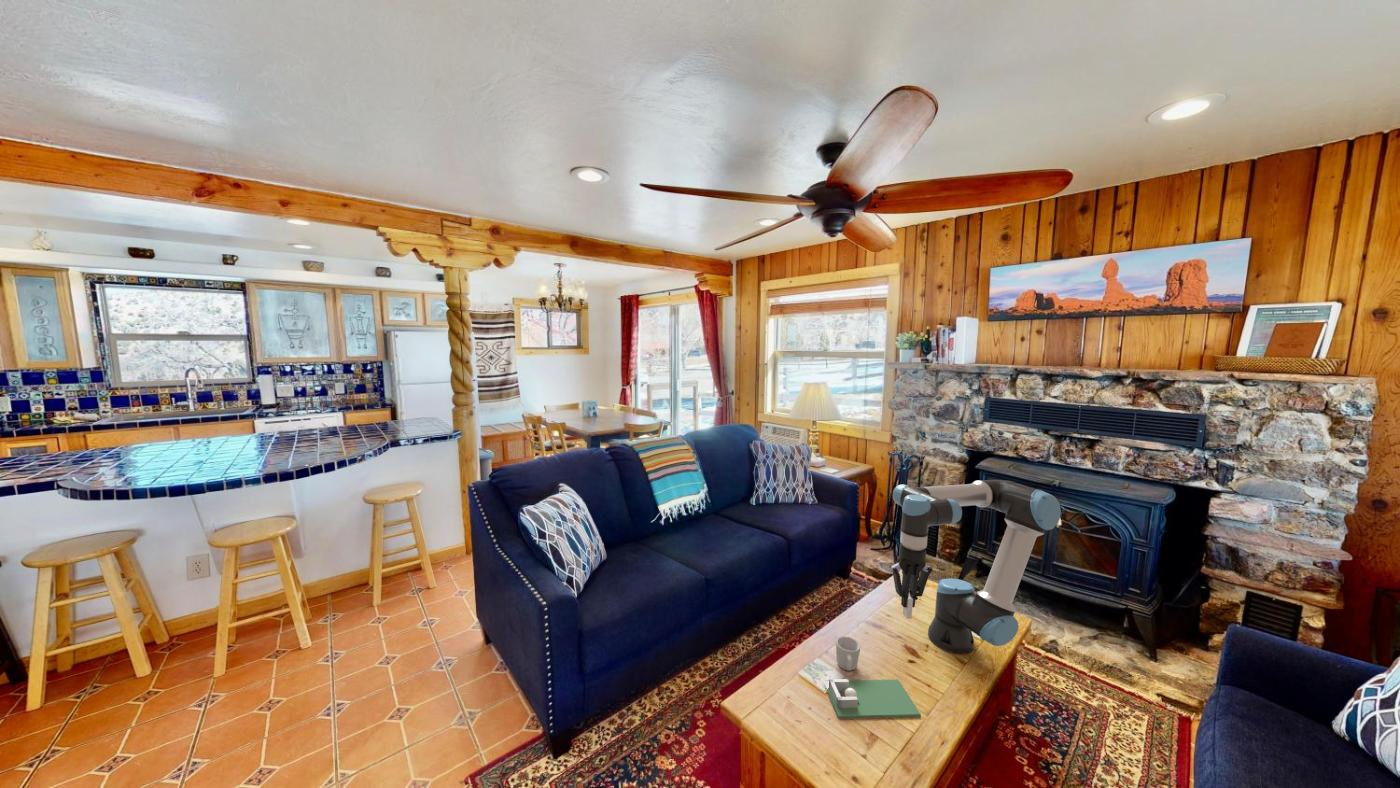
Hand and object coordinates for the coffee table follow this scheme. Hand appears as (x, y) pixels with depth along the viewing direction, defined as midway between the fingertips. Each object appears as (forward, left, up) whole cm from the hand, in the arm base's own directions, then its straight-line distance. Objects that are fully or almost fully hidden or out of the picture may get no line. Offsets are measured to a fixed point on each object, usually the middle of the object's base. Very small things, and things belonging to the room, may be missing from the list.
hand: (907, 615), depth 145 cm
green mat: (+12, +5, -24) cm, 28 cm away
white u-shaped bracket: (+21, +5, -24) cm, 33 cm away
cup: (+15, -9, -25) cm, 30 cm away
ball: (+19, +5, -23) cm, 30 cm away
